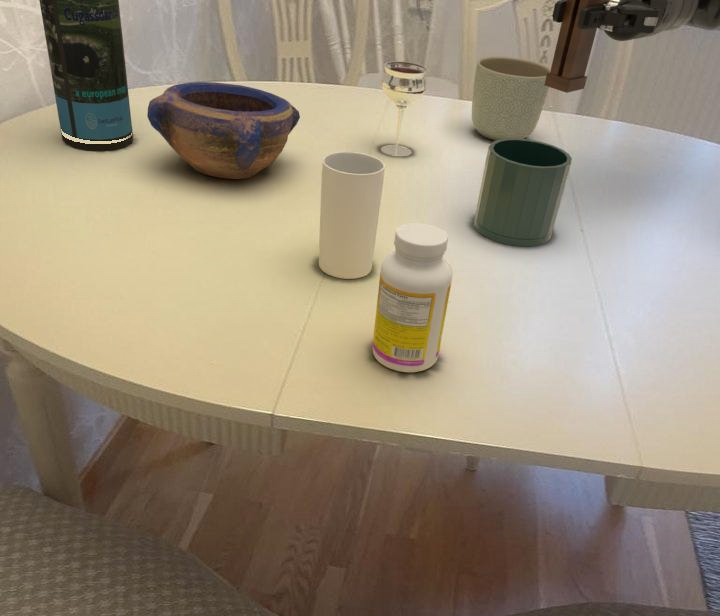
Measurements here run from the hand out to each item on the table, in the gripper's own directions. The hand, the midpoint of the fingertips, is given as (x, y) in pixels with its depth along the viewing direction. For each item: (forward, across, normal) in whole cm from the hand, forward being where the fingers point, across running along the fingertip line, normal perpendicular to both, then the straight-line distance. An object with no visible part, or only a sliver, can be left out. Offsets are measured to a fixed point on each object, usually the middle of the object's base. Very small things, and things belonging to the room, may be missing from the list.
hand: (569, 15), depth 90 cm
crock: (+7, +3, +24) cm, 25 cm away
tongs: (-3, 0, +8) cm, 9 cm away
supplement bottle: (+42, +16, +24) cm, 51 cm away
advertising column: (+36, -52, +24) cm, 68 cm away
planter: (-23, -22, +24) cm, 40 cm away
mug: (+32, -2, +24) cm, 40 cm away
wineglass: (-1, -26, +24) cm, 36 cm away
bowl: (+26, -34, +24) cm, 49 cm away
